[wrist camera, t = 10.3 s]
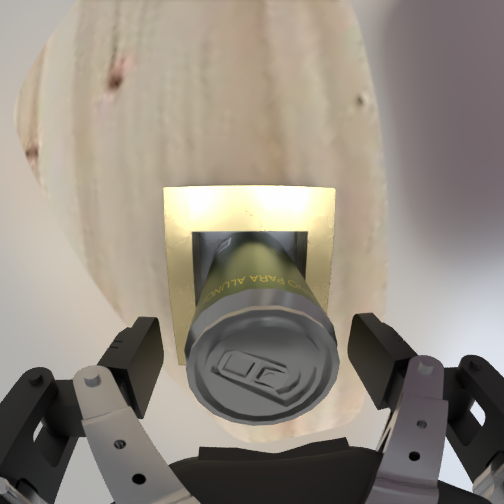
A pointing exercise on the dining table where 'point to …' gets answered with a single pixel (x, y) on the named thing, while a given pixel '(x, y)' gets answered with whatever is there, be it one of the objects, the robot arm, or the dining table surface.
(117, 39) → the dining table surface
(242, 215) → the socket block
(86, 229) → the dining table surface
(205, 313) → the beer can
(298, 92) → the dining table surface
